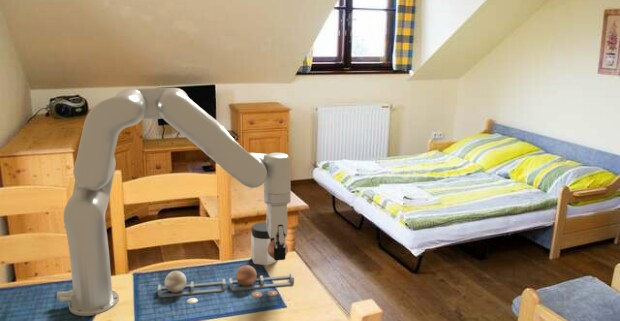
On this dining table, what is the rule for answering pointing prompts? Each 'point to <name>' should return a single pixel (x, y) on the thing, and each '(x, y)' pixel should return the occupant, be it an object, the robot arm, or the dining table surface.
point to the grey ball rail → (225, 286)
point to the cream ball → (175, 281)
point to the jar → (260, 245)
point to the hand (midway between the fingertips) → (277, 254)
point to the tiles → (255, 294)
